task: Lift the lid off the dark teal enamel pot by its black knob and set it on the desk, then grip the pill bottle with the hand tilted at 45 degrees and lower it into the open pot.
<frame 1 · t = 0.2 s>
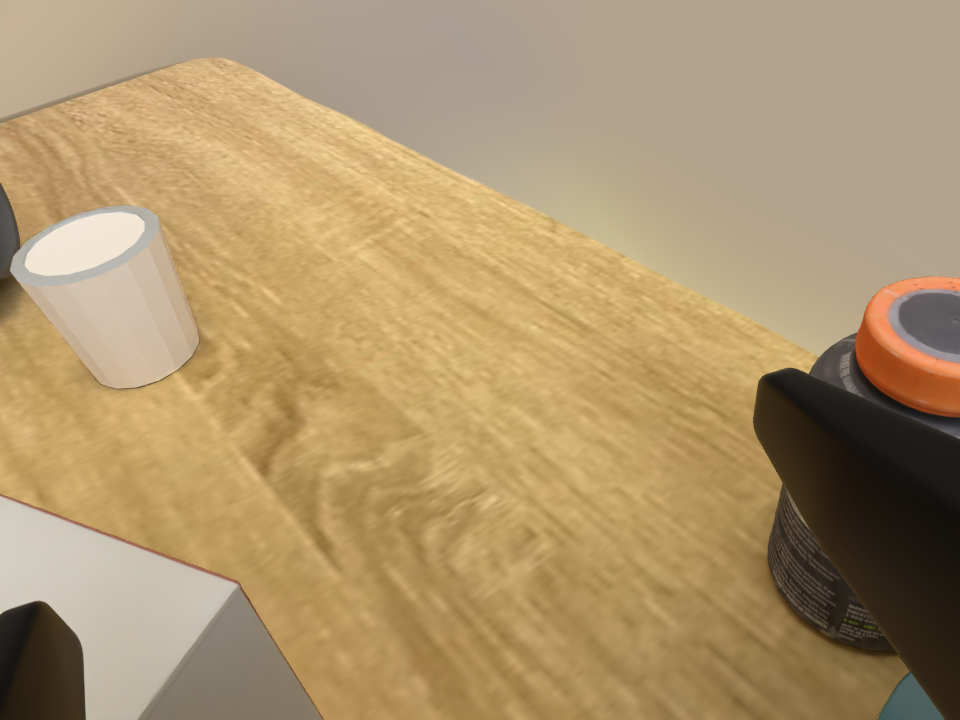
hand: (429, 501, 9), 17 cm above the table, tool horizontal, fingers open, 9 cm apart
white cup: (148, 354, 40), on the table
pill bottle: (855, 577, 26), on the table
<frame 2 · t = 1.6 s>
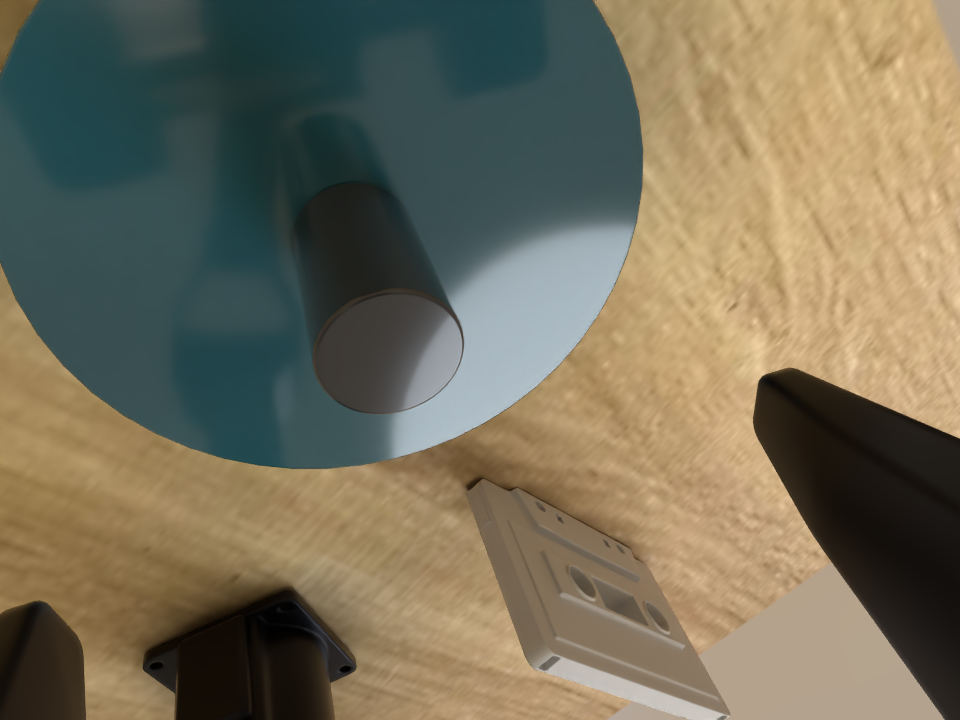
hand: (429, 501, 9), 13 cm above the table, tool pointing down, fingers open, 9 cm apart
pot lid: (350, 227, 15), point 5 cm above the table, touching pot
cassette: (563, 527, 32), on the table
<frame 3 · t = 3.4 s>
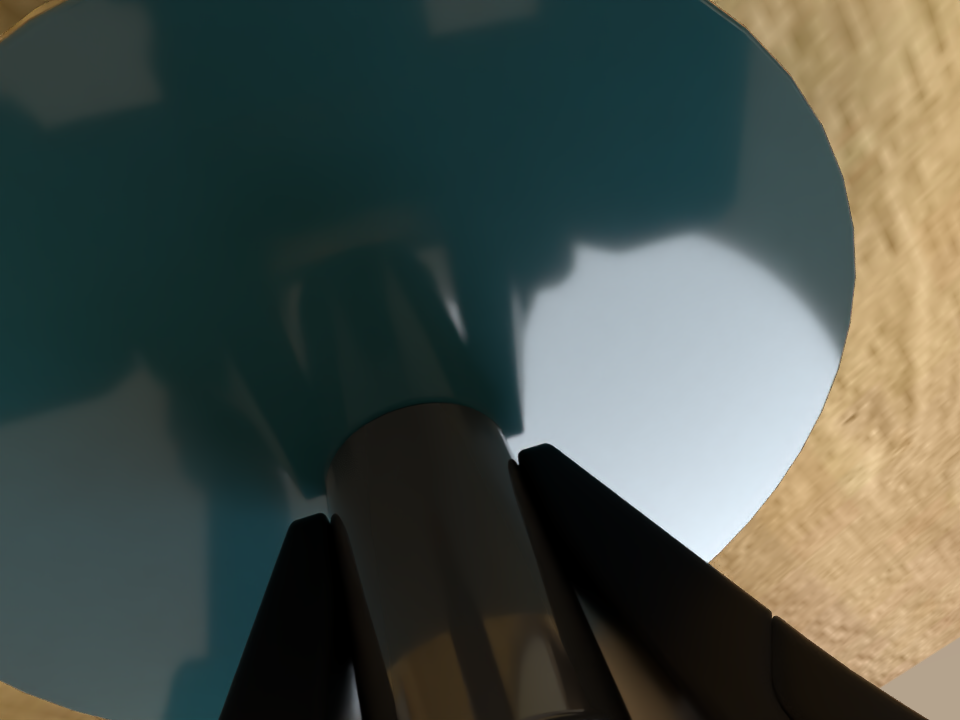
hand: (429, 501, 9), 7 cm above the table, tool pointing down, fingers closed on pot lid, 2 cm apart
pot lid: (411, 445, 10), point 6 cm above the table, touching gripper, pot
when the fingers open (1 cm above the table, at t = 9.1 s): pot lid stays where it is, point 1 cm above the table.
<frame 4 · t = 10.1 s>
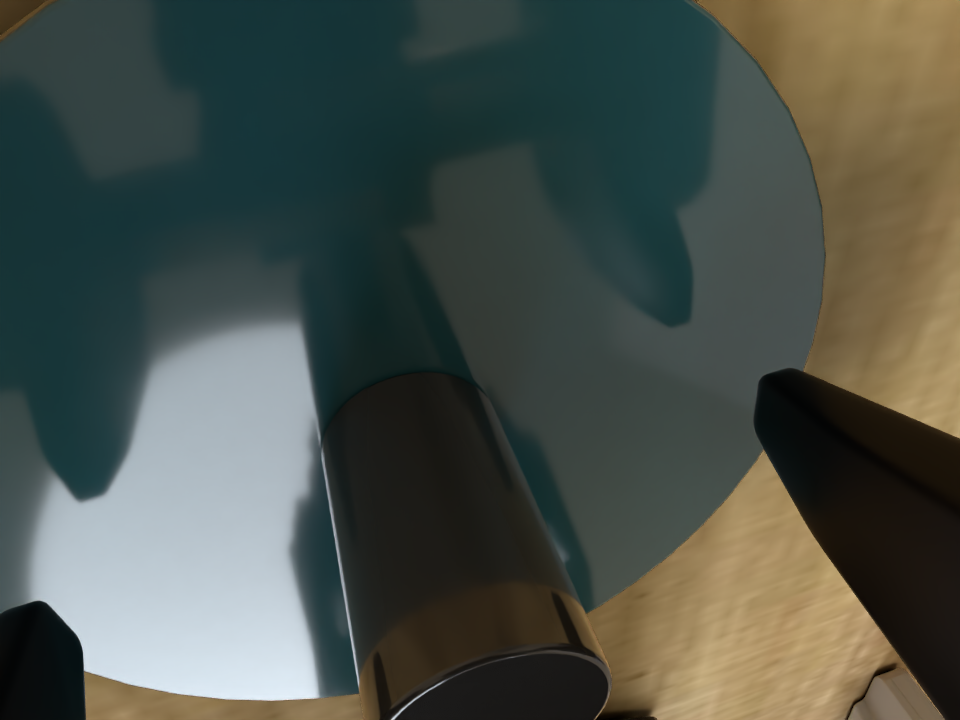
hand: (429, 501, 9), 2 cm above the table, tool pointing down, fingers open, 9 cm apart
pot lid: (403, 416, 10), point 1 cm above the table
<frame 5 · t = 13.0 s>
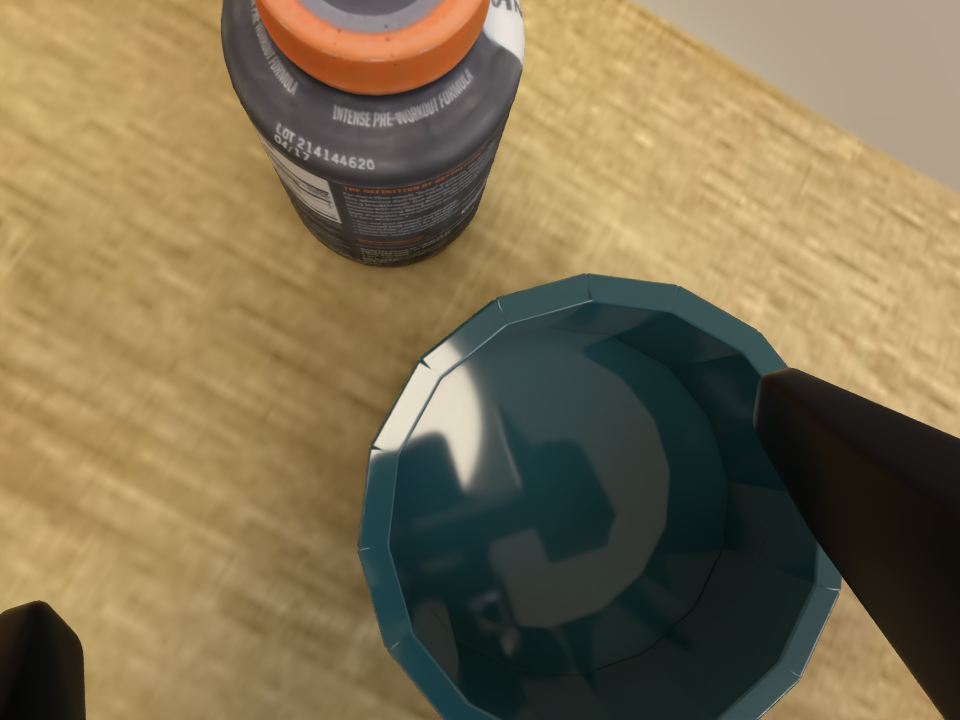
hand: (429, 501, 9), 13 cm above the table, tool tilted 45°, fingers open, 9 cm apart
pill bottle: (386, 176, 23), on the table
pot: (560, 496, 23), on the table
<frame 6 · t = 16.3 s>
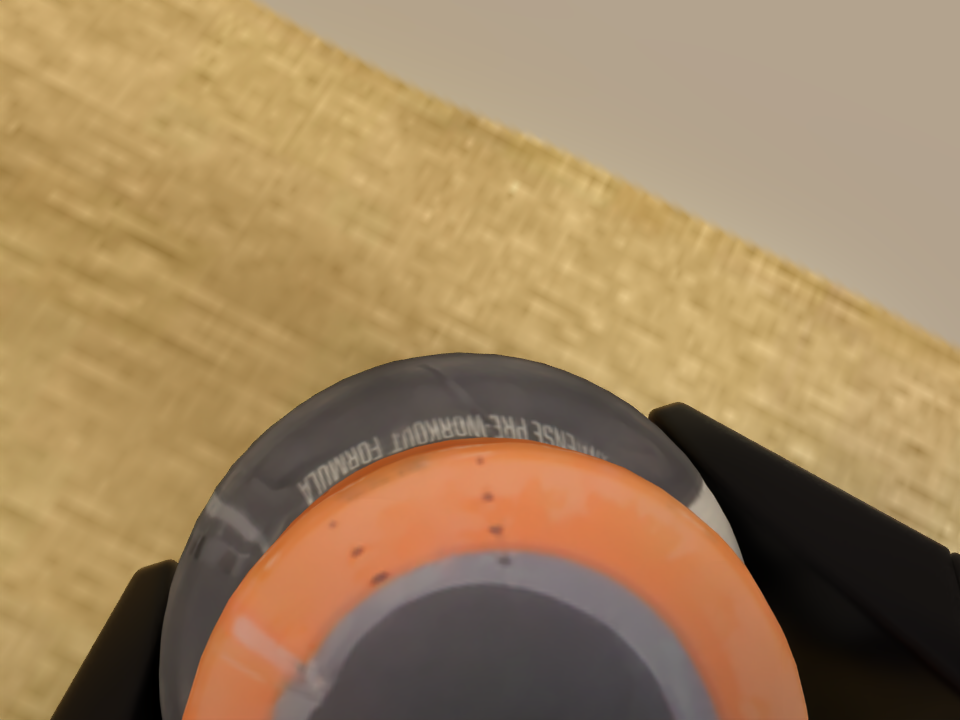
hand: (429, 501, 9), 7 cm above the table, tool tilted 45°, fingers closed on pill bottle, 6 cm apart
pill bottle: (438, 542, 16), on the table, touching gripper
when the fingers open (7 cm above the table, at t = 22.8 s): pill bottle stays where it is, resting on pot.
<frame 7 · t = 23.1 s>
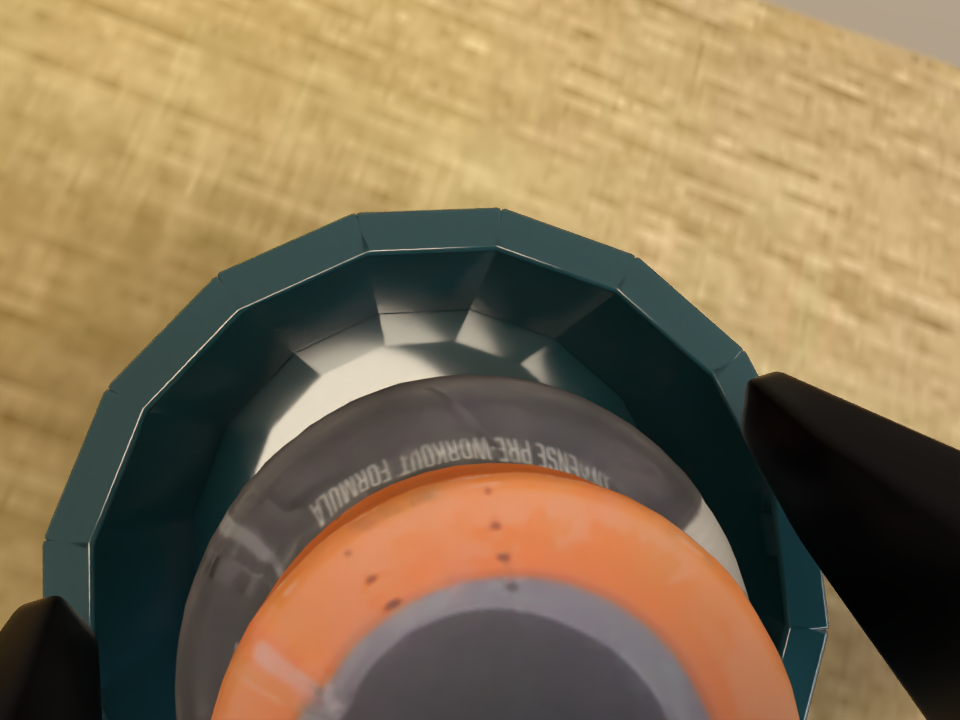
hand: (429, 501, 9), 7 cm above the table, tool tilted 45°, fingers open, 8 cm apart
pill bottle: (441, 550, 16), resting on pot
pot: (437, 540, 16), on the table
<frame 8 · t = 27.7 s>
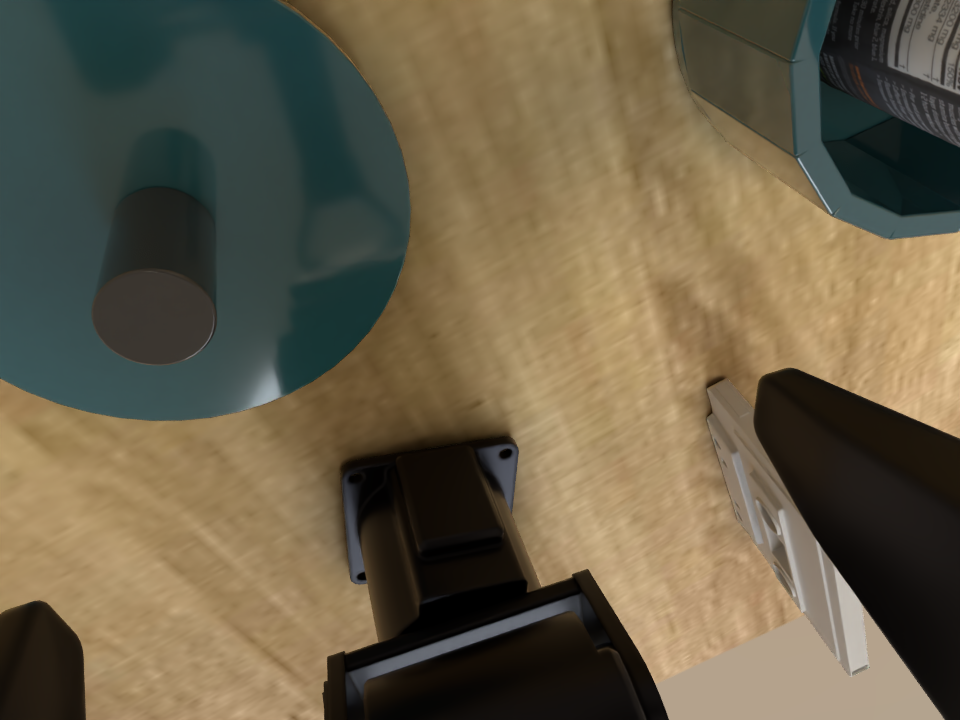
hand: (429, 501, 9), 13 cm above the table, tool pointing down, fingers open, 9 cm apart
pot lid: (166, 222, 19), point 1 cm above the table
cassette: (736, 462, 33), on the table
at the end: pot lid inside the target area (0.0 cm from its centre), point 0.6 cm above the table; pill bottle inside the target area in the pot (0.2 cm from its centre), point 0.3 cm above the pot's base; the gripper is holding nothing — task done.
